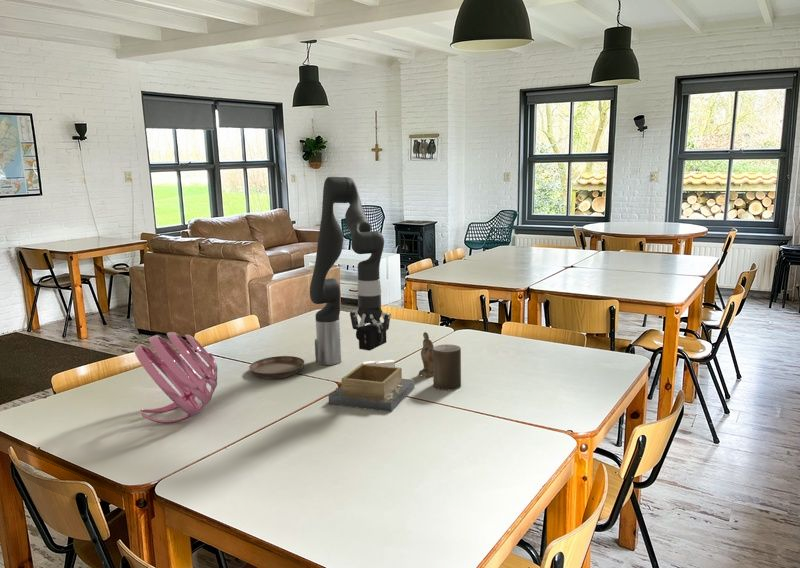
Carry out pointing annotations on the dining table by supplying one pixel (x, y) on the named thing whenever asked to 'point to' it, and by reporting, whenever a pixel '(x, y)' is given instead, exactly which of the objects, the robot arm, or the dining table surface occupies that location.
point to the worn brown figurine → (427, 356)
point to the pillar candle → (447, 367)
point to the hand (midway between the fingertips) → (371, 342)
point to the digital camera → (369, 337)
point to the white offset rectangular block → (381, 363)
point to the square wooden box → (372, 388)
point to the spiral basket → (179, 373)
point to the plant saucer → (277, 366)
